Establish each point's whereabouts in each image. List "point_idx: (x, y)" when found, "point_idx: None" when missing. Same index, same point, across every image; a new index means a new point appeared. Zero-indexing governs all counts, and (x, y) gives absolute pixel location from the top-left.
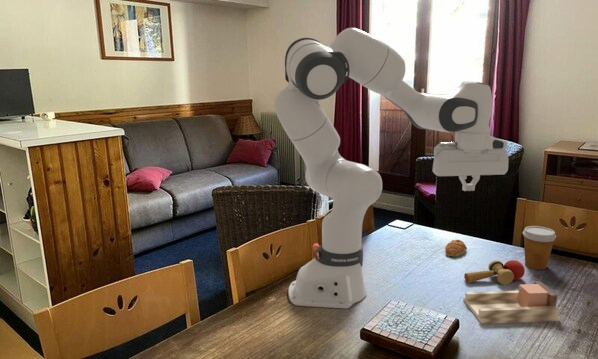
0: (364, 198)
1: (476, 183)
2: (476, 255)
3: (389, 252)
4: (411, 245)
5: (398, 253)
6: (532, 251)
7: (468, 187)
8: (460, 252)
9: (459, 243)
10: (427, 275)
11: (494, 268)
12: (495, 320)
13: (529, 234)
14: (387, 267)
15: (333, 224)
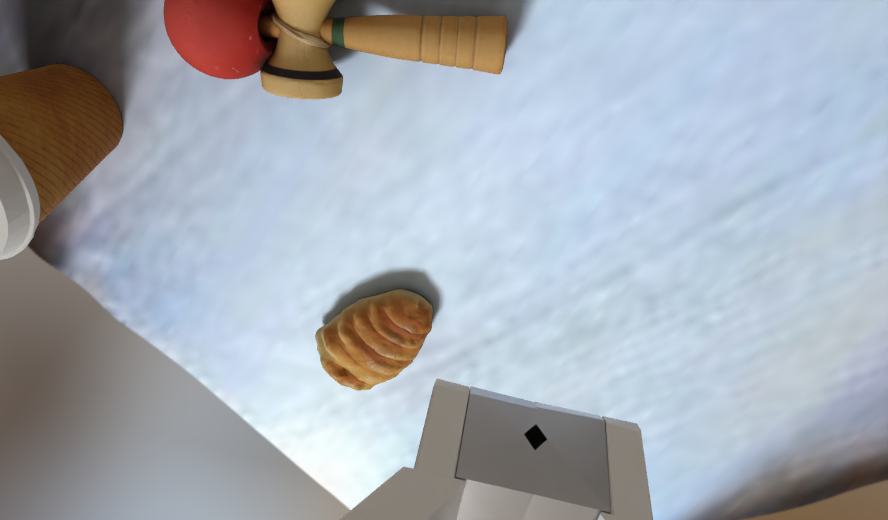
0: None
1: (378, 488)
2: (300, 276)
3: (667, 410)
4: None
5: (634, 391)
6: (52, 119)
7: (565, 455)
8: (373, 300)
9: (349, 353)
10: (654, 163)
11: (323, 57)
12: None
13: (2, 178)
14: (788, 292)
15: None
